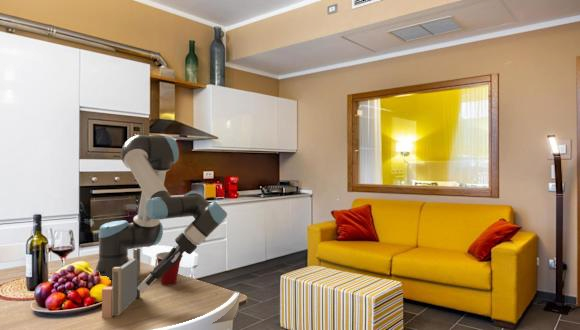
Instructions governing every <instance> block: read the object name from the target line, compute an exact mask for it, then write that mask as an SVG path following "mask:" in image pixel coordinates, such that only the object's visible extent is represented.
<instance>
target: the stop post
mask: <svg viewBox="0 0 580 330" xmlns="http://www.w3.org/2000/svg"><path fill="white" fill-rule="evenodd" d="M113 316H114V315H112V286H105V287H103V288H102V289H101V317H102V318H112V317H113Z"/></svg>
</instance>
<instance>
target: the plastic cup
mask: <svg viewBox="0 0 580 330" xmlns="http://www.w3.org/2000/svg"><path fill="white" fill-rule="evenodd" d="M169 252H170V251H164V252H159V253H156V254H155V257H156V260H157V265H158V264H159V263H160V262H161V261H162V260H163V259H164V258H165V256H166V255H167V254H168V253H169ZM183 257H184V256H183V254H182V257H181V258H180V259H179V260H178V262H176V263H175V264H174V265H173V266H172V267H171V268H170V269H169V270H167V271H166V272H165V273H164V274H163V275H162V276H161V277H160V278H159V279H160V283H161V285H163V286H172V284H173V285H175V284H177V278H178V275H179V268H180V263H181V262H182V261H181V260H182V258H183Z"/></svg>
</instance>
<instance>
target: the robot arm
mask: <svg viewBox="0 0 580 330" xmlns="http://www.w3.org/2000/svg"><path fill="white" fill-rule="evenodd" d="M179 155H180V153H179V147H178V143H177V142H176V140H175V139H174V138H172V137H170V136H165V135H161V136H160V135H143V134H141V135H140V134H139V135H134V136H132V137H130V138H128V139H127V140H126V141H125V142H124V144H123V145H122V148H121V150H120V157H121V161H122V163H123V164H124V167H126V168H128V169H129V170H130V172H131V173H132V175H133V177H134V179H135V180H136V182H137V183H138V185H139V187H140V188H141V194H140V201H139V206H138V210H137V211H138V212H137V214H136V215H135V216H133V220H132V222H129V221H127V220H115V221H114V220H113V221H109V222H106V223H103V224H102V225H100V226H99V229H98V260H97V263H96V266H95V268H94V269H95V270H94V272H95V271H97V270H98V271H99V272H100V275H101V276H107V277H109V278H111V279H110V280H112V268H114V267H121V266H122V265H124V264H125V263H127V262H128V261H130V259H129V254H128V251H129V250H131V249H141V248H145V247H146V248H149V247H152V246H156V245H158V244H159V243H160V242H161V241H162V238H163V234H164V231H163V229H164V227H163V223H162V221H161V220H166V219H168V220H169V219H176V218H186V217H188V218H189V217H193V218H194V220H193V221H192V222H191V223H189V225H188V226H187V227H185V229H184V230H183V232H181V233H180V234H179V235H178V236H177V237H176V238H175V240H174V242H175V243H176V246H173V247H172V248H171V249H170V251H168V252H169V253H168V254H167V255H166V256H165V258H164V259H163V260H162V261H161V262H160V263H159V264H158V263H157V265H156V266H155V267H154V268H153V270H152V271H150V272H149V273H150V274H148V275H147V277H145V279H143V280H142V281H141V282H140V285H139V286H138V287H137V289H138V290H139V291H140V293H141V294H144V293H145V292H146V291H147V289H149V287H151V286H152V285H153V284H154V283H155V282H156V280H159V279H161V278H160V277H161V276H162V275H163V274H164V273H165V272H166V271H167V270H169V269H170V268H171V267H172V266H173V265H174V264H175V263H176V262H178V260H179V259H180V258H181V257H182V255H183V254H184V253H186V254H187V255H191V254H192V253H193V252H194V251H195V250H196V249H197V247H198V246H199V245H201V244H202V243H205V242H206V239H207V238H208V237H209V236H210V235H211V233H213V232H214V230H216V229H217V228H218V227H219V226H220V225H221V224H222V223H223V222H224V220H225V219H226V218H227V217H228V212H227V211H226V210H225V209H223V207H221V206H220V204H218V202H217V201H215V200H214V201H212V202H209V201H208V200H207V199H206V198H205V197H204V196H203V195H202V194H201V193H199V192H198V191H196V190H190V191H188V192H186V193H185V194H184V195H183V196H182V195H181V196H171V195H170V193H169V191H168V189H167V187H166V186H165V180H166V174H167V172H168V171H170V170H171V168H172V165H173V164H176V163H177V162H178V161H179V157H180V156H179ZM182 258H183V257H182ZM182 258H181V259H182Z"/></svg>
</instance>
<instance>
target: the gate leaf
mask: <svg viewBox="0 0 580 330" xmlns="http://www.w3.org/2000/svg"><path fill="white" fill-rule="evenodd" d="M111 281H112V282H111V283H112V285H111V287H112V315H113V316H120V315H121V314H122V312H123V311H124V310H125V309H126V308H127V307H129V305H130V304H132V302H134V301H135V300H136V299H135V298H136V297H137V259H133V258H132V259H129V261H128V262H127V263H125V264H124V265H122V266H121V267H114V268H112V279H111Z"/></svg>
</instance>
